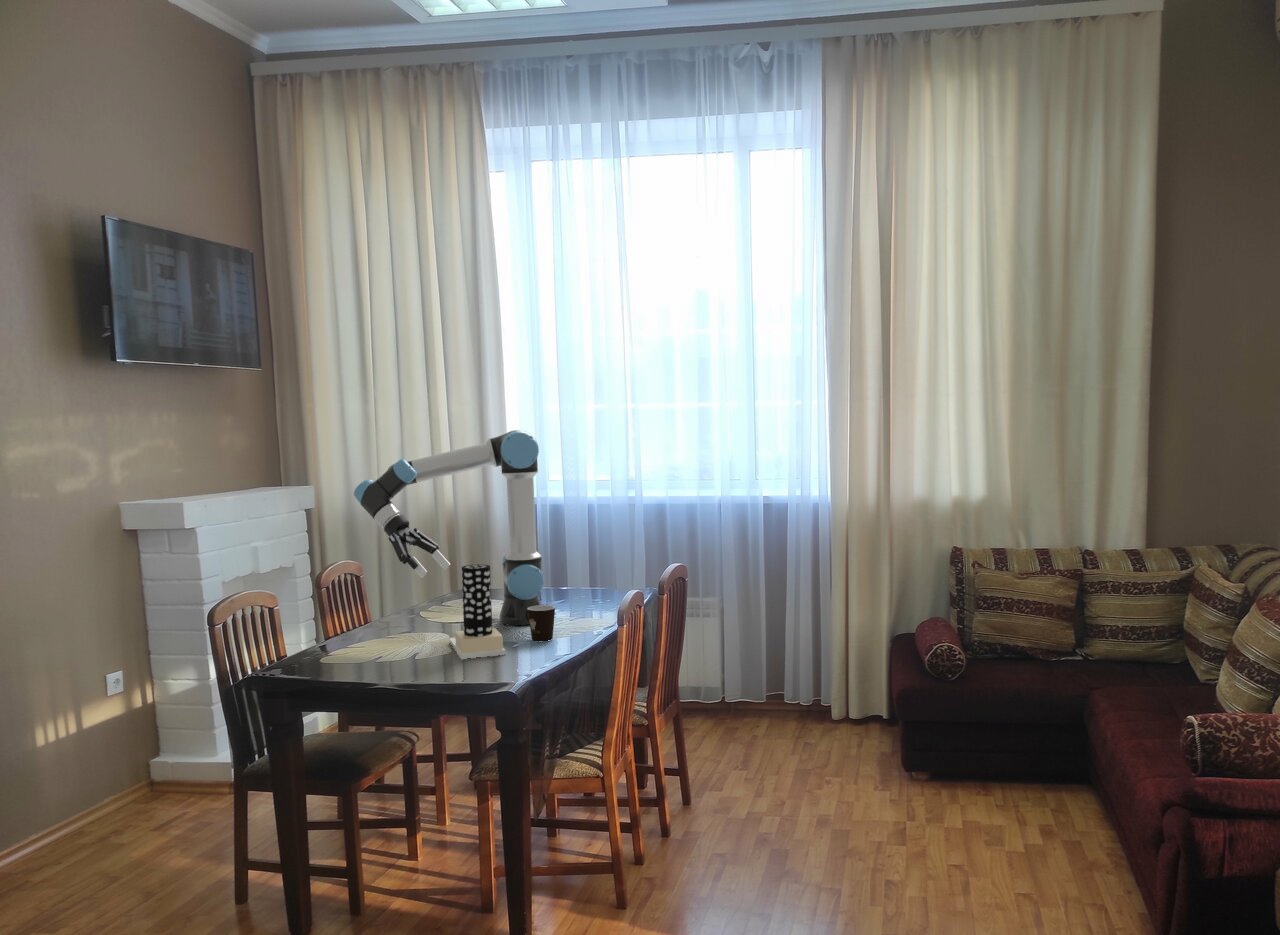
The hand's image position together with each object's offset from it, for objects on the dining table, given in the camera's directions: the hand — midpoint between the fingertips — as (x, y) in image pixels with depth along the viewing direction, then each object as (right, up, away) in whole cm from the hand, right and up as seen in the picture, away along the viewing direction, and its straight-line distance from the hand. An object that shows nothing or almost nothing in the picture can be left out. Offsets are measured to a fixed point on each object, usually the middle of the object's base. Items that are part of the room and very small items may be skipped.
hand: (436, 571), depth 311 cm
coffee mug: (+32, -22, +5) cm, 39 cm away
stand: (+14, -23, -7) cm, 27 cm away
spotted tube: (+15, -18, -11) cm, 25 cm away
